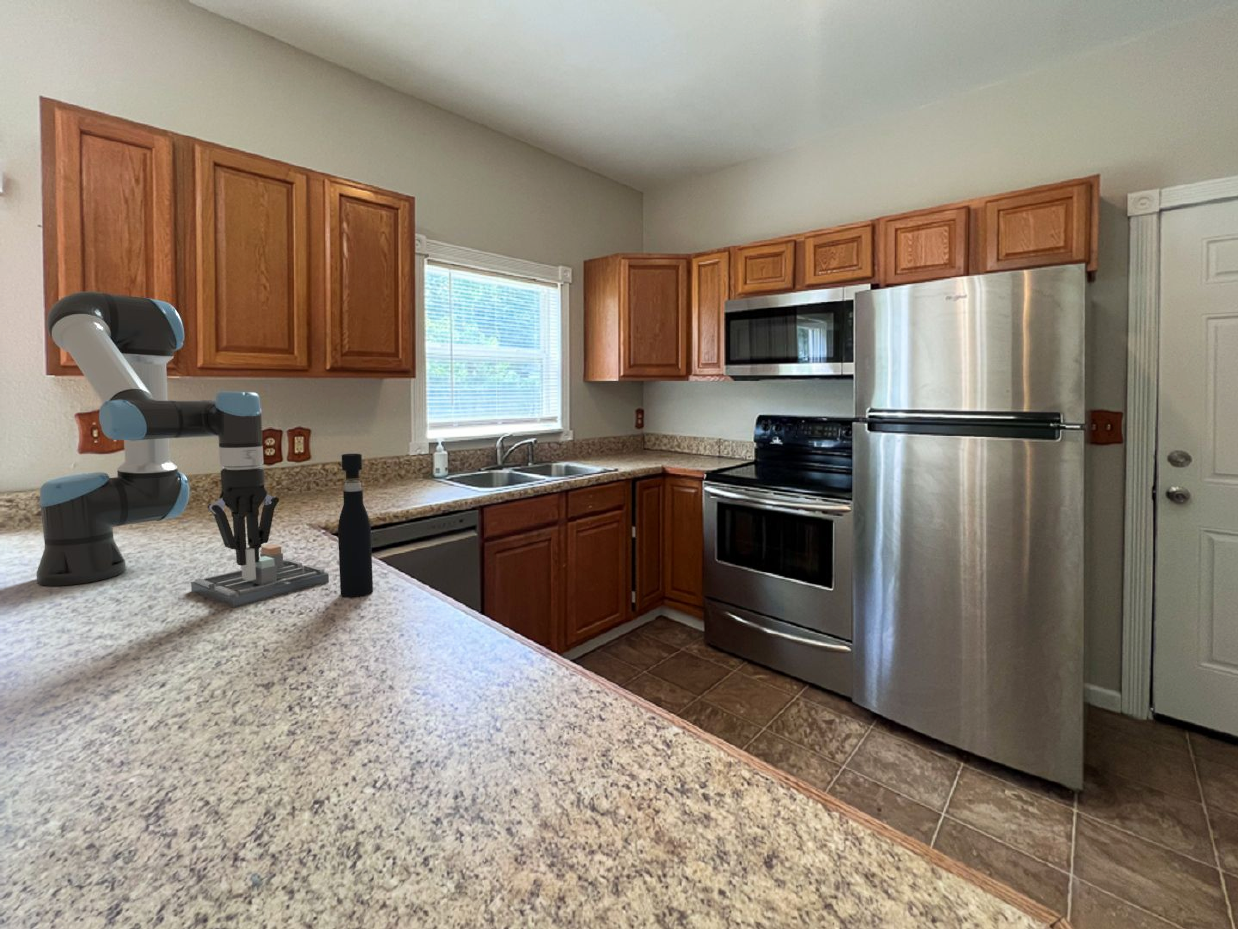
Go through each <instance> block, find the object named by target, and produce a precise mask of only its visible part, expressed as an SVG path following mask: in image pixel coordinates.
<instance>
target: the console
mask: <svg viewBox="0 0 1238 929" xmlns="http://www.w3.org/2000/svg"><path fill="white" fill-rule="evenodd" d="M276 573H277V581H275V582H271V583H267V584H263V585H258V584H256V583H253V580H251V581H247V580H244V579H242V569H239V570H235V571H230V572H226V573H223V574H222V573H221V574H217V575H214V576H212V575H211V576H208V577H204V579H203V578H200V577H199V578H196V579H194V581H192V582H190V590H191V592H193V593H195V594H197V595H201V596H202V597H204V598H207V599H210V600H212V601H215V602H217V603H220V604H221V605H224V606H228V607H229V608H232V609H235V608H238V607H241V606H246V605H249V604H253V603H257V602H260V601H264V600H267V599H271V598H275V597H278V596H283V595H286V594H290V593H293V592H297V591H300V590H301V591H302V590H305V589H309V588H312V587H315V586H320V585H323V584H327V583H329V582H330V578H329V576H330V574H329V573H328V572H325V569H324V568H320V567H317V566H314V565H310V564H307V565H303V562H299V561H296V560H293V559H290V558H286V559H283V568H276Z"/></svg>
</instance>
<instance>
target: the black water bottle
mask: <svg viewBox="0 0 1238 929" xmlns="http://www.w3.org/2000/svg"><path fill="white" fill-rule="evenodd" d="M341 470H342V471H344V472H345V480H346V481H345V482H344V484H343V486H344V488H343V489H344V490H343V506H342V508H341V511H340V515H339V519H338V525H337V535H338V536H337V541H338V542H337V543H338V561H339V562H338V564H339V566H338V567H339V587H340V589H339V590H340V596H341V597H343V598H346V599H356V598H362V597H366V596H367V597H368V596H369V595H371V594H372V593H373V592H374V583H373V581H374V579H373V554H372V552H373V551H372V527H371V523H370V518H369V514H368V512H367V510H366V506H365V504H364V492H363V490H362V483H361V481H359V480H360V472H359V471H361V470H363V455H362V453H343V454H341Z"/></svg>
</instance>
